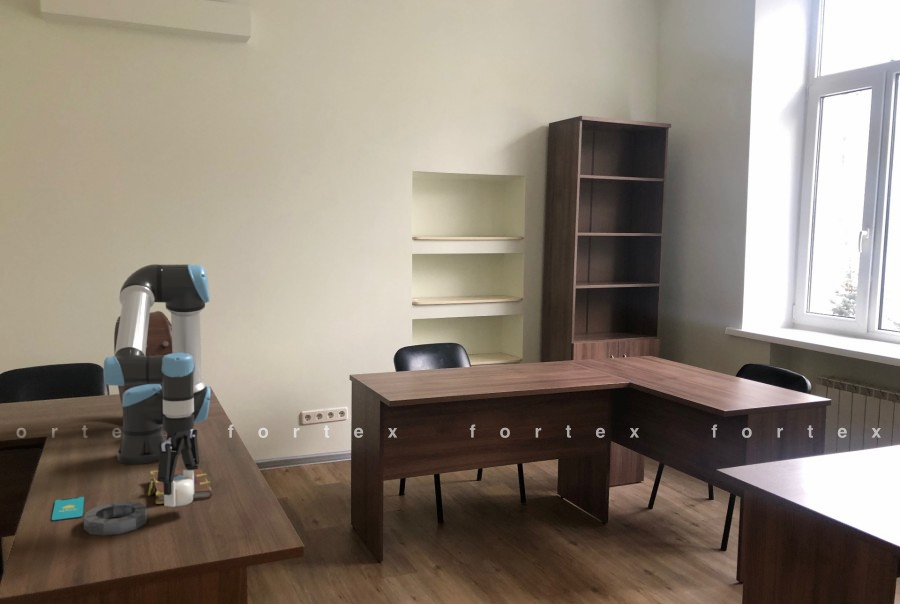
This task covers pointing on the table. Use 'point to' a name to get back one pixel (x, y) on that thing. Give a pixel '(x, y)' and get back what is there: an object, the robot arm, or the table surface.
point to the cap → (183, 491)
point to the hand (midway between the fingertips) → (179, 499)
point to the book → (200, 479)
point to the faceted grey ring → (102, 525)
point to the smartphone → (68, 509)
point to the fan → (152, 342)
